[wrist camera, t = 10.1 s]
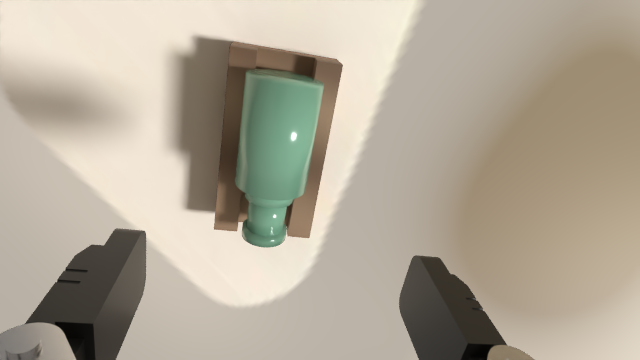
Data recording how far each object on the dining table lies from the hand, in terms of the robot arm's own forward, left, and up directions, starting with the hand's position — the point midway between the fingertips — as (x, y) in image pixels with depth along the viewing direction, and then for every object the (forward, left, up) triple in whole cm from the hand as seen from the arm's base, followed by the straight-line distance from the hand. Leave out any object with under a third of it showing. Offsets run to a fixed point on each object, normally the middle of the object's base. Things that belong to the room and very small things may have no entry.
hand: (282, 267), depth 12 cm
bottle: (+1, 0, -11) cm, 11 cm away
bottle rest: (+1, 0, -14) cm, 14 cm away
